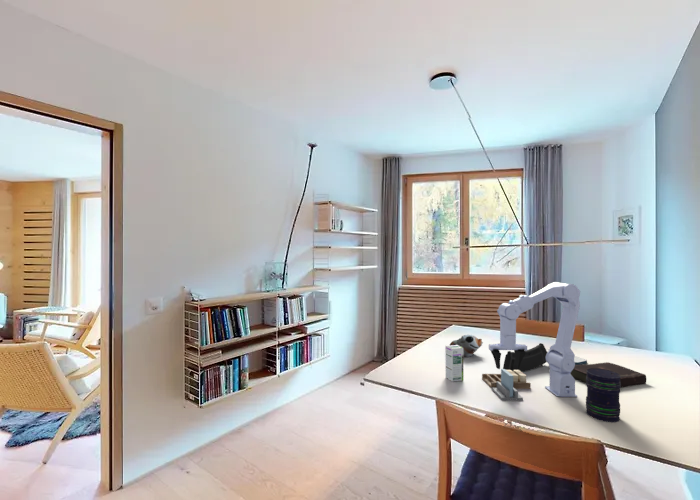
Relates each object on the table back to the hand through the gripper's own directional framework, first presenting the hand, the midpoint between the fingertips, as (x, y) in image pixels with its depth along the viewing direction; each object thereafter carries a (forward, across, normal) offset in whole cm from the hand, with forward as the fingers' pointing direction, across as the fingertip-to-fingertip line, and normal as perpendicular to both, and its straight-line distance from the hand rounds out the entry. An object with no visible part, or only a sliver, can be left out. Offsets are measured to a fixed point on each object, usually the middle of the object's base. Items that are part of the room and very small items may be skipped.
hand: (507, 368), depth 145 cm
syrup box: (+10, +16, -16) cm, 25 cm away
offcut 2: (+10, -10, -11) cm, 18 cm away
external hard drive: (+11, -49, -48) cm, 69 cm away
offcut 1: (+10, -6, -11) cm, 16 cm away
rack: (+10, -4, -11) cm, 16 cm away
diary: (+11, -51, -17) cm, 55 cm away
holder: (+10, 0, +1) cm, 10 cm away
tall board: (+9, 0, +1) cm, 9 cm away
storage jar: (+11, -25, +18) cm, 33 cm away
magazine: (+11, -22, -30) cm, 39 cm away
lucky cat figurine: (+11, -1, -54) cm, 55 cm away
